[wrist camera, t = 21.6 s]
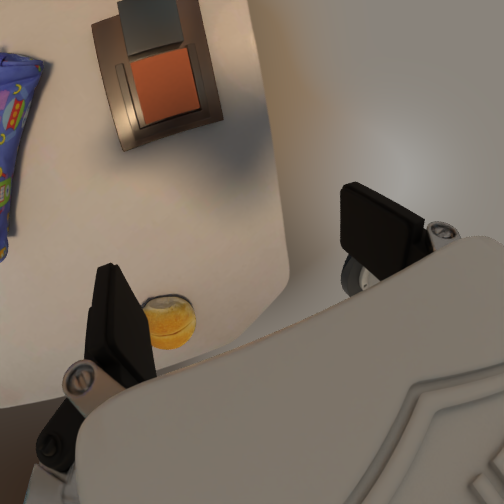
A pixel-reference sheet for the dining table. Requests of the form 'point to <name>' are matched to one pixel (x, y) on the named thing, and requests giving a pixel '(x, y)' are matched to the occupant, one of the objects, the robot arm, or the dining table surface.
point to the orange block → (165, 85)
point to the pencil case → (13, 124)
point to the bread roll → (170, 322)
